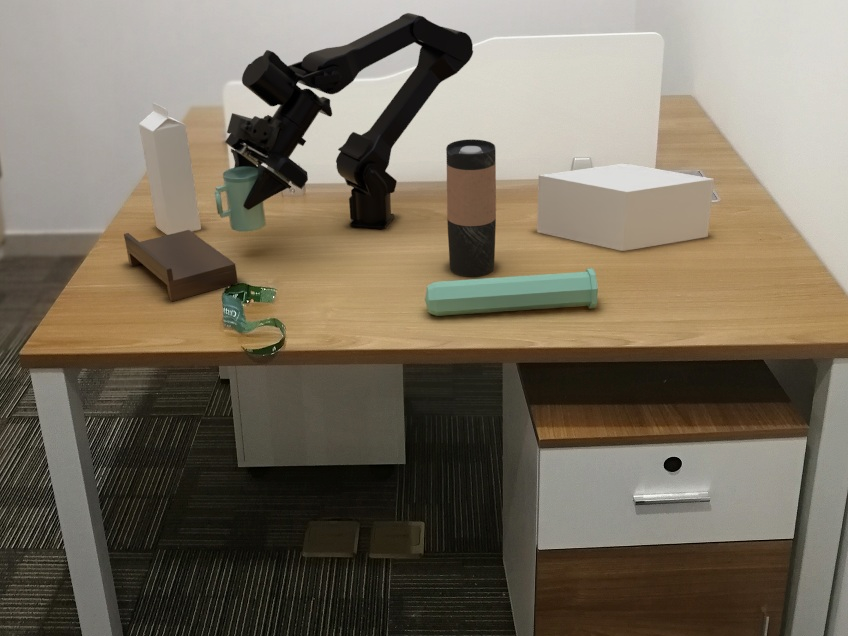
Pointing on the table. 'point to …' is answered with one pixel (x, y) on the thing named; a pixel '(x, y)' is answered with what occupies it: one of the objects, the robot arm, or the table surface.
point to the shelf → (182, 263)
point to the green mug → (240, 199)
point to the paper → (624, 206)
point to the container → (512, 293)
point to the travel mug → (471, 206)
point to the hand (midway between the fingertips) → (237, 202)
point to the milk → (169, 172)
